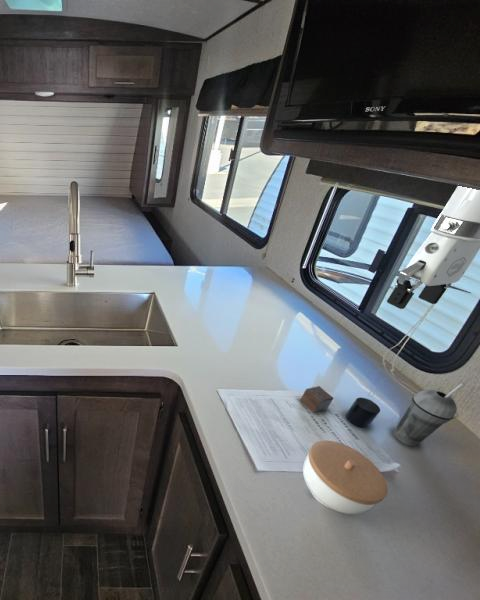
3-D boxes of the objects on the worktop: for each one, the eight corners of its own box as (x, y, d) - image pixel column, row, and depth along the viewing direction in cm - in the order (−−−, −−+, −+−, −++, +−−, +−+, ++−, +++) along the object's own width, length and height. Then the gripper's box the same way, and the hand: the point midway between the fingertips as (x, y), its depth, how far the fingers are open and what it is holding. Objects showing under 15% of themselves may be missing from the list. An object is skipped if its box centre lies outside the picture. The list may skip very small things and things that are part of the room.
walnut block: (312, 397, 91) (319, 385, 89) (326, 409, 88) (333, 398, 85) (299, 399, 90) (306, 388, 88) (313, 412, 87) (320, 401, 84)
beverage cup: (388, 420, 85) (433, 364, 75) (425, 438, 81) (478, 381, 70) (384, 437, 81) (432, 379, 70) (423, 457, 76) (480, 398, 66)
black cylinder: (354, 411, 88) (365, 395, 84) (373, 426, 83) (385, 410, 80) (340, 414, 86) (351, 399, 83) (358, 430, 82) (370, 414, 79)
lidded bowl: (317, 525, 63) (343, 495, 57) (282, 464, 73) (301, 433, 68) (380, 526, 63) (412, 496, 57) (336, 465, 74) (359, 434, 68)
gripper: (455, 236, 56) (401, 317, 65) (517, 231, 60) (458, 307, 69) (407, 223, 62) (364, 298, 71) (467, 219, 67) (419, 291, 75)
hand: (410, 303), depth 70 cm, fingers open, 9 cm apart
